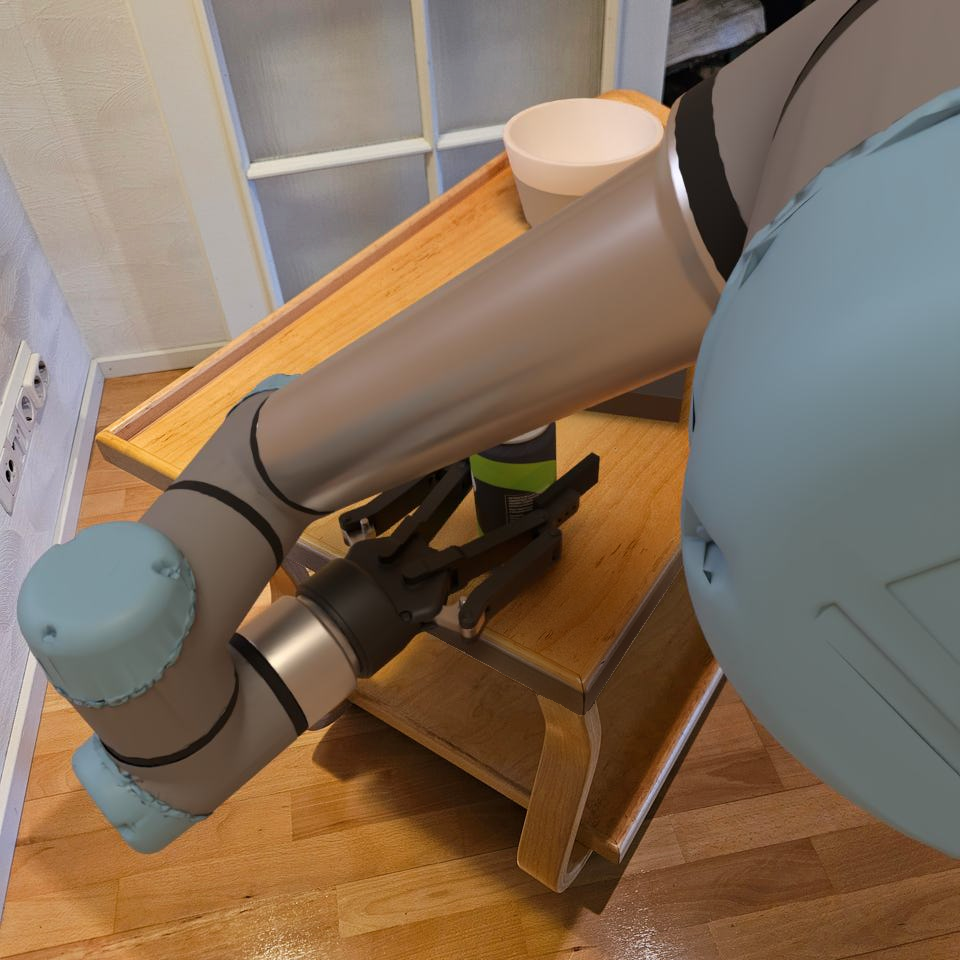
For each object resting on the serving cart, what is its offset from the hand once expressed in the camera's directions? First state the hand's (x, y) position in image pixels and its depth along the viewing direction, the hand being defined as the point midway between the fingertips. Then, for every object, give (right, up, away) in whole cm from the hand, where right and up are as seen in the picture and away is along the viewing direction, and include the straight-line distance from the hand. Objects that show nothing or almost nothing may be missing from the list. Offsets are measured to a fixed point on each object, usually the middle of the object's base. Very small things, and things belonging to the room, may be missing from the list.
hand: (565, 449), depth 64 cm
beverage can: (-3, -9, +4) cm, 10 cm away
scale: (+7, +11, +22) cm, 25 cm away
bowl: (+6, +32, +43) cm, 54 cm away
